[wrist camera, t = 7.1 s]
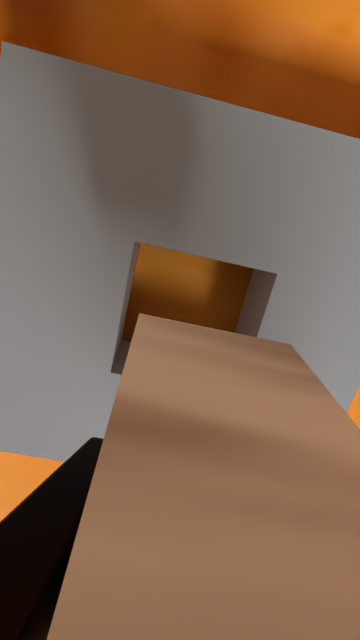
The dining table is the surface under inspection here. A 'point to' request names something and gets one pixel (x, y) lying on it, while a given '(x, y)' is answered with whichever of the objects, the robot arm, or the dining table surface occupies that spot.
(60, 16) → the dining table surface
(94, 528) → the birch peg
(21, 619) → the robot arm
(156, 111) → the socket block
